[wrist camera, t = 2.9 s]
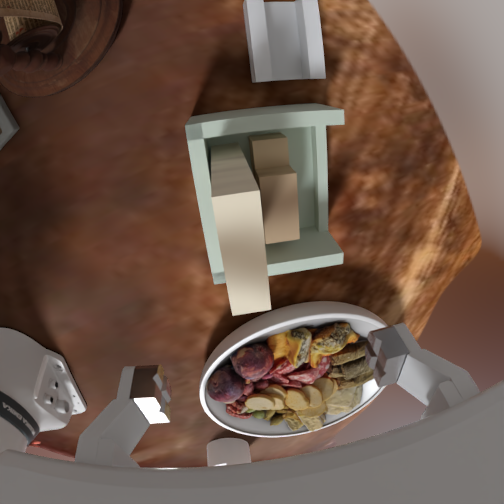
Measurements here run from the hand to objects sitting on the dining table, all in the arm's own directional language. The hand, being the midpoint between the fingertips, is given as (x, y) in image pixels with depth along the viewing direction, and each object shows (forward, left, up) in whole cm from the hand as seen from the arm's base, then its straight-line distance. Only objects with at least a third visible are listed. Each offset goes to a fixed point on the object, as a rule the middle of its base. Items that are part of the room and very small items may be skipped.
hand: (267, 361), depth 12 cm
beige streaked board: (0, 0, -22) cm, 22 cm away
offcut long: (0, -4, -22) cm, 22 cm away
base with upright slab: (-55, +9, -23) cm, 60 cm away
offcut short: (-1, -4, -19) cm, 19 cm away
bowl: (-30, -6, -23) cm, 38 cm away
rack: (0, -3, -23) cm, 23 cm away
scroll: (+20, +15, -23) cm, 34 cm away
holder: (+13, -6, -23) cm, 27 cm away
